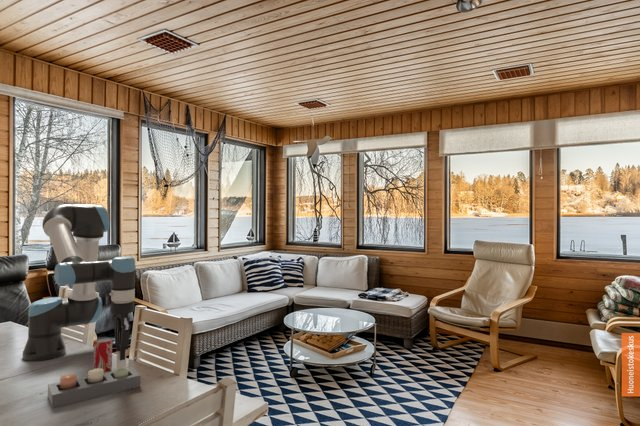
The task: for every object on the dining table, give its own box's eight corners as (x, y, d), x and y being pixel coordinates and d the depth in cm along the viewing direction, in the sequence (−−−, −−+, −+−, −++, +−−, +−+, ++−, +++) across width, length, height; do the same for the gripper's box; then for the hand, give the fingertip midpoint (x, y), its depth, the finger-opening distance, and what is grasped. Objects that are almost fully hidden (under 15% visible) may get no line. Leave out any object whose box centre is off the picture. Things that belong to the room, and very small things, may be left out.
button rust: (58, 385, 134) (59, 375, 134) (75, 381, 137) (75, 372, 137) (61, 389, 131) (61, 380, 131) (77, 386, 134) (77, 377, 134)
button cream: (86, 379, 139) (86, 370, 139) (101, 376, 142) (101, 367, 142) (89, 383, 136) (89, 374, 136) (104, 380, 139) (105, 371, 139)
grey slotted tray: (47, 396, 135) (48, 384, 135) (131, 377, 151) (132, 366, 151) (52, 408, 127) (52, 395, 127) (140, 386, 144) (140, 375, 144)
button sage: (112, 377, 144) (112, 368, 144) (126, 374, 147) (126, 366, 147) (115, 381, 141) (115, 372, 141) (129, 378, 144) (130, 369, 144)
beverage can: (103, 375, 153) (104, 343, 153) (89, 373, 154) (90, 341, 154) (115, 369, 159) (116, 338, 159) (101, 367, 160) (102, 337, 160)
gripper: (106, 299, 147) (104, 364, 147) (115, 305, 137) (114, 376, 137) (128, 296, 152) (127, 360, 152) (139, 303, 142) (137, 371, 142)
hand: (121, 368), depth 144 cm, fingers closed
